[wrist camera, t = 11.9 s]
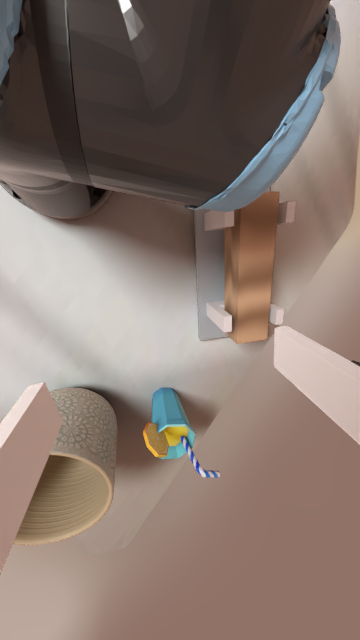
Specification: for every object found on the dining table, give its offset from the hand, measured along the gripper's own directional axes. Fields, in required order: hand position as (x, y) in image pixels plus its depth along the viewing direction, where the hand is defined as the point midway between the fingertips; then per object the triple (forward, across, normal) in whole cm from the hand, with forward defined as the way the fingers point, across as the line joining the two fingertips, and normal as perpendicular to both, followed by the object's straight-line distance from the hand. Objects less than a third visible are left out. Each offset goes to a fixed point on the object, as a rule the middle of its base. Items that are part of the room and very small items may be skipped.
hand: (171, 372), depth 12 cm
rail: (+21, +14, 0) cm, 26 cm away
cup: (+25, -1, -24) cm, 34 cm away
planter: (+25, -19, -21) cm, 38 cm away
